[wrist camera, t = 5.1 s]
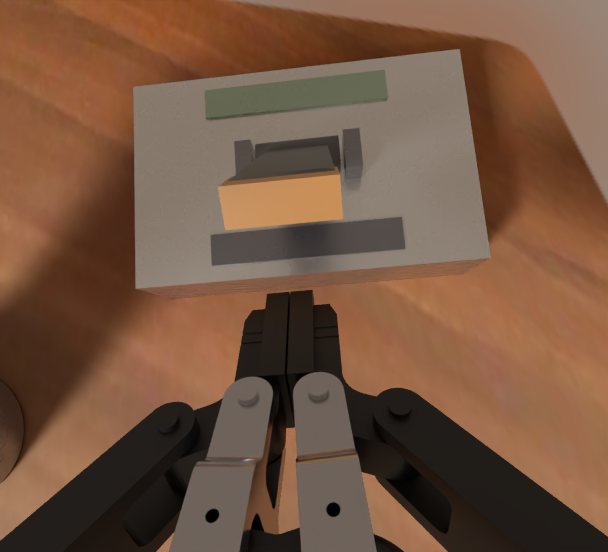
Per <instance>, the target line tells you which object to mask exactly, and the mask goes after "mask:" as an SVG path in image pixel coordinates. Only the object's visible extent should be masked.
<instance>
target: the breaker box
mask: <svg viewBox="0 0 608 552" xmlns="http://www.w3.org/2000/svg"><path fill="white" fill-rule="evenodd" d="M133 95H134V187H135V280H136V289H138V290H142V291H145V292H149V293H152V294H155V295H159V296H162V297H166V298H169V299H177V298H189V297H201V296H213V295H225V294H236V293H248V292H260V291H272V290H284V289H295V288H307V287H319V286H331V285H343V284H354V283H366V282H378V281H390V280H402V279H413V278H425V277H437V276H449V275H461V274H464V273H466V272H468V271H469V270H471V269H473V268H474V267H476V266H478V265H480V264H481V263H483V262H485V261H486V260H488V259H490V258H491V255H490V249H489V242H488V235H487V228H486V222H485V215H484V208H483V202H482V195H481V188H480V182H479V175H478V168H477V161H476V155H475V148H474V141H473V135H472V128H471V121H470V115H469V108H468V101H467V94H466V88H465V81H464V74H463V68H462V61H461V54H460V49H455V50H446V51H438V52H429V53H420V54H412V55H403V56H395V57H386V58H377V59H369V60H360V61H352V62H343V63H335V64H326V65H317V66H309V67H300V68H292V69H283V70H274V71H266V72H257V73H249V74H240V75H231V76H223V77H214V78H206V79H197V80H188V81H180V82H171V83H163V84H154V85H145V86H137V87H133ZM335 135H338V138H339V147H340V159H341V172H340V181H341V195H342V209H343V219H340V220H329V221H318V222H308V223H297V224H286V225H276V226H265V227H254V228H244V229H233V230H225V226H224V220H223V214H222V209H221V203H220V197H219V191H218V186H219V185H221V184H222V183H223V182H225V181H226V180H227V179H228V178H230V177H233V176H235V175H236V174H237V173H239V172H240V171H241V170H242V169H244V168H245V167H246V166H248V165H249V164H250V163H251V162H253V161H254V160H255V144H259V143H269V142H278V141H288V140H297V139H307V138H316V137H325V136H335Z"/></svg>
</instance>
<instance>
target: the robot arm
mask: <svg viewBox="0 0 608 552" xmlns="http://www.w3.org/2000/svg"><path fill="white" fill-rule="evenodd" d="M293 427H295V430H296V445H297V459H296V475H297V491H298V507H299V523H300V528H297V529H294V530H291V531H288V532H285V533H282V534H279V526H278V516H279V506H280V497H281V489H282V481H283V472H284V464H285V455H286V449H285V442H286V428H293ZM23 434H24V426H23V416H22V413H21V409H20V405H19V404H18V402H17V400H16V398H15V396H14V394H13V393H12V392H11V391H10V390H9V388H8V387H7V386H6V385H5V384H3V383H2V382H0V483H1V482H2V481H3V480H4V479H5V477H6V476H7V475H8V474H9V473H10V471H11V470H12V468H13V466H14V464H15V462H16V461H17V459H18V456H19V453H20V450H21V447H22V442H23ZM361 472H364V473H368V474H371V475H375V477H376V479H377V480H378V482H379V483H380V484H381V485H382V486H383V487H384V488H385V489H386V490H387V491H388V492H389V493H390V494H391V495H392V496H393V497H394V498H395V499H396V500H397V501H398V502H399V503H400V504H401V505H402V506H403V507H404V508H405V509H406V510H407V511H408V512H409V513H410V514H411V515H412V516H413V517H414V518H415V519H416V520H417V521H418V522H419V523H420V524H421V525H422V526H423V527H424V528H425V529H426V530H427V531H428V532H429V533H430V534H431V535H432V536H433V537H434V538H435V539H436V540H437V541H438V542H439V543H440V544H441V545H442V546H443V547H444V548H445V549H446V550H447V551H448V552H608V537H607V536H606V535H605V534H603V533H602V532H601V531H599V530H598V529H597V528H595V527H594V526H593V525H591V524H590V523H589V522H587V521H586V520H585V519H583V518H582V517H581V516H579V515H578V514H577V513H575V512H574V511H573V510H571V509H570V508H569V507H567V506H566V505H565V504H563V503H562V502H561V501H559V500H558V499H557V498H555V497H554V496H553V495H551V494H550V493H549V492H547V491H546V490H545V489H543V488H542V487H541V486H539V485H538V484H537V483H535V482H534V481H533V480H531V479H530V478H529V477H527V476H526V475H525V474H523V473H522V472H521V471H519V470H518V469H517V468H515V467H514V466H513V465H511V464H510V463H509V462H507V461H506V460H505V459H503V458H502V457H501V456H499V455H498V454H497V453H495V452H494V451H493V450H491V449H490V448H489V447H487V446H486V445H485V444H483V443H482V442H481V441H479V440H478V439H477V438H475V437H474V436H473V435H471V434H470V433H469V432H467V431H466V430H465V429H463V428H462V427H461V426H459V425H458V424H457V423H455V422H454V421H453V420H451V419H450V418H449V417H447V416H446V415H445V414H443V413H442V412H441V411H439V410H438V409H437V408H435V407H434V406H433V405H431V404H430V403H428V402H427V401H426V400H424V399H423V398H422V397H420V396H419V395H418V394H416V393H415V392H413V391H411V390H408V389H404V388H391V389H388V390H385V391H383V392H382V393H380V394H379V395H378V396H377V397H376V396H372V395H367V394H363V393H360V392H358V391H356V390H354V389H352V388H351V387H350V386H349V385H348V384H347V383H346V382H345V380H344V378H343V375H342V366H341V355H340V345H339V334H338V323H337V314H336V312H335V311H334V310H333V308H332V307H331V306H330V304H324V305H314V297H313V290H306V291H294V292H291V293H289V292H283V293H271V294H267V299H266V308H265V309H262V310H253V311H252V312H251V313H250V315H249V316H248V318H247V319H246V320H245V323H244V329H243V336H242V341H241V347H240V353H239V359H238V365H237V371H236V377H235V382H234V383H233V384H232V385H230V386H229V387H228V389H227V390H226V392H225V394H224V396H223V398H222V399H221V400H219V401H217V402H216V403H213V404H211V405H208V406H205V407H203V408H200V409H197V410H194V411H193V409H192V408H191V407H190V406H189V405H188V404H186V403H182V402H171V403H167V404H164V405H162V406H160V407H158V408H157V409H155V410H154V411H153V412H152V413H151V414H149V415H148V416H147V417H146V418H145V419H143V420H142V421H141V422H140V423H139V424H138V425H136V426H135V427H134V428H133V429H132V430H130V431H129V432H128V433H127V434H126V435H125V436H123V437H122V438H121V439H120V440H119V441H117V442H116V443H115V444H114V445H113V446H112V447H110V448H109V449H108V450H107V451H106V452H105V453H103V454H102V455H101V456H100V457H99V458H97V459H96V460H95V461H94V462H93V463H92V464H90V465H89V466H88V467H87V468H86V469H84V470H83V471H82V472H81V473H80V474H79V475H77V476H76V477H75V478H74V479H73V480H72V481H70V482H69V483H68V484H67V485H66V486H64V487H63V488H62V489H61V490H60V491H59V492H57V493H56V494H55V495H54V496H53V497H51V498H50V499H49V500H48V501H47V502H46V503H44V504H43V505H42V506H41V507H40V508H38V509H37V510H36V511H35V512H34V513H33V514H31V515H30V516H29V517H28V518H27V519H26V520H24V521H23V522H22V523H21V524H20V525H18V526H17V527H16V528H15V529H14V530H13V531H11V532H10V533H9V534H8V535H7V536H5V537H4V538H3V539H2V540H1V541H0V552H156V551H157V550H158V549H159V548H160V547H161V546H162V545H163V544H164V542H165V541H166V540H167V539H168V538H169V537H170V536H171V535H172V534H173V533H174V536H173V539H172V542H171V546H170V549H169V552H404V551H402V550H401V549H400V548H399V547H397V546H396V545H394V544H393V543H392V542H390V541H388V540H386V539H384V538H382V537H380V536H377V535H375V534H373V530H372V525H371V519H370V514H369V509H368V504H367V499H366V493H365V488H364V483H363V478H362V473H361Z"/></svg>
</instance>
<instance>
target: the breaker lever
mask: <svg viewBox="0 0 608 552" xmlns="http://www.w3.org/2000/svg"><path fill="white" fill-rule="evenodd" d="M340 172H341V159H340V147H339V138H338V135H335V136H325V137H316V138H307V139H297V140H288V141H278V142H269V143H259V144H255V160H254V161H253V162H251V163H250V164H249V165H248V166H246V167H245V168H244V169H242V170H241V171H240V172H239V173H237V174H236V175H235V176H233V177H230V178H228V179H227V180H226V181H225V182H223V183H222V184H221V185H219V186H218V191H219V197H220V203H221V209H222V214H223V220H224V226H225V230H233V229H244V228H254V227H265V226H276V225H286V224H297V223H308V222H318V221H329V220H340V219H343V209H342V195H341V181H340Z"/></svg>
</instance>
